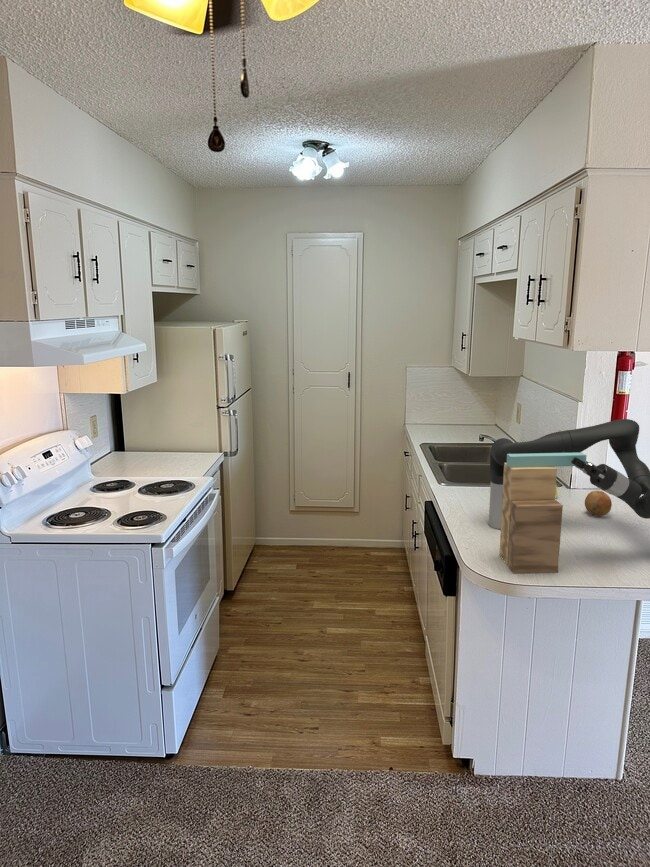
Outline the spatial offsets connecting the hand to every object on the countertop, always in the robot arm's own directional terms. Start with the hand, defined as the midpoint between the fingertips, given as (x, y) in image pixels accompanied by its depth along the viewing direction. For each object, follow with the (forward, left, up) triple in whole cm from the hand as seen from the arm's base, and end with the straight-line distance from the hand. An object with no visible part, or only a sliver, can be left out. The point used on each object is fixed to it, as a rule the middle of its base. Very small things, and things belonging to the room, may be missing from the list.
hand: (567, 456), depth 188 cm
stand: (0, -12, -35) cm, 37 cm away
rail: (0, -7, -3) cm, 7 cm away
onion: (-40, +31, -35) cm, 62 cm away
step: (+8, -12, -35) cm, 37 cm away
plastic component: (-66, +14, -35) cm, 76 cm away
